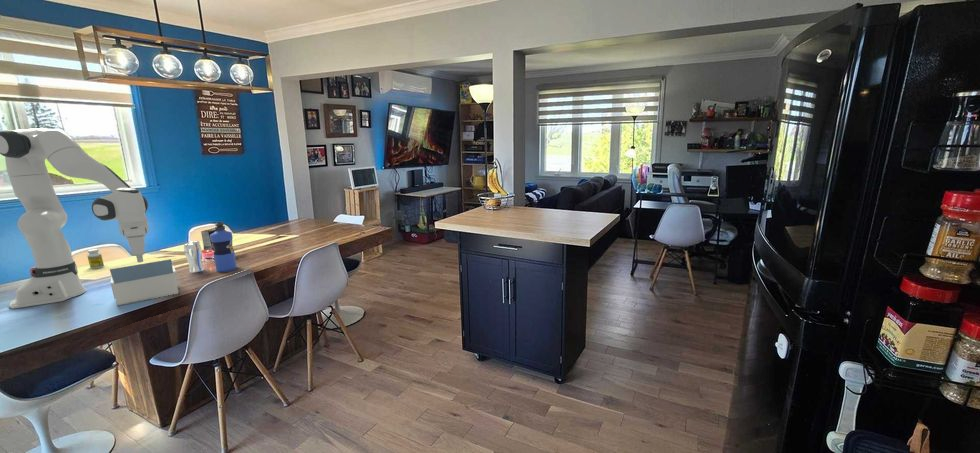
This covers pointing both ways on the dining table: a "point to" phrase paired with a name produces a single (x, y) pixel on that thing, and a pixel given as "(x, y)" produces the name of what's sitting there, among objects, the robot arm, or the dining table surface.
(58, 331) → the dining table surface
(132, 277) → the front flap
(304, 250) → the dining table surface
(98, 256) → the supplement bottle
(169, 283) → the carton
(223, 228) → the water bottle
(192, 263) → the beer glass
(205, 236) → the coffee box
